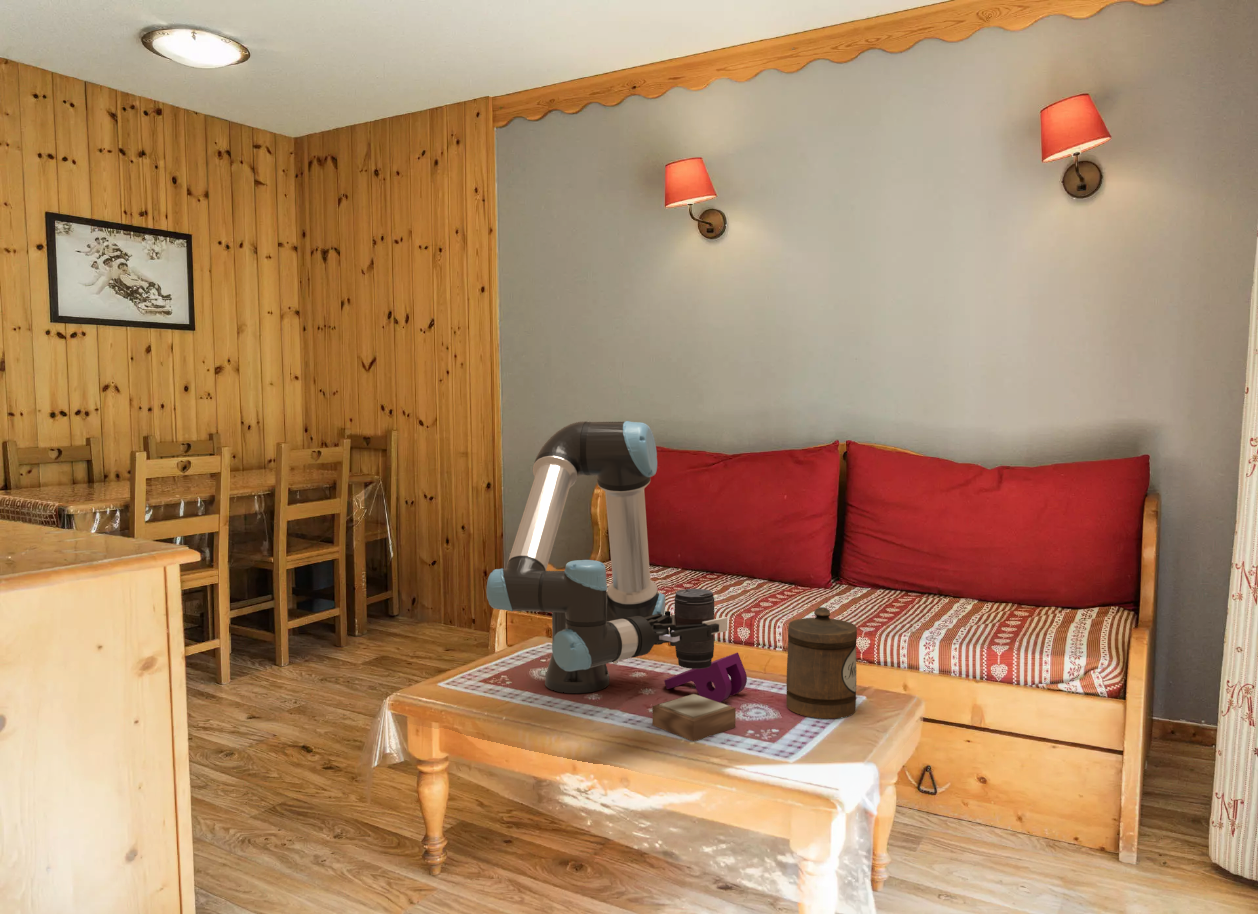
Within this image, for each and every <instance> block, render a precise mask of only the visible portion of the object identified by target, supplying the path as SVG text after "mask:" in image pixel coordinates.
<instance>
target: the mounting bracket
mask: <svg viewBox="0 0 1258 914" xmlns="http://www.w3.org/2000/svg"><path fill="white" fill-rule="evenodd" d="M747 681H748V676H747V671H746V670H745V667H744V665H743V662H742V659H741V656H740V654H739V652H736V653H733V654H732V653H731V654H729V655H727V656H724V657H721V658H718V659H716V660H713V661H711V666H710V667H708V668H703V669H688V670H686V671H683V672H680V673H678V674H675V675H672V676H670V677H668V678H666V679H664V680H663V682H664V685H665V688H666V689H667V690H670V689H672V688H675V687H678V686H682V685H684V684H687V683H689V682H692V683H693V684H694V686H695V689H696V692H697V695H699V696H702V697H705V698H708V699H711V700H714V701H717V702H720V703H723V702H724V701H725V700H727V699H728V698H729V696H730V697H731V696H735V695H737V694H739V693H740V692H742V691H743V690H744V689H745V688H746V686H747V683H748V682H747ZM713 685H714V686H713Z"/></svg>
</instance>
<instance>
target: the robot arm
mask: <svg viewBox="0 0 1258 914" xmlns="http://www.w3.org/2000/svg"><path fill="white" fill-rule="evenodd" d="M657 456H658V452H657V446H656V440H655V436H654V434H653V430H652V429H651V428H650V426H649V425H648V424H646V423H645V422H639V421H638V422H637V421H630V420H625V421H578V422H577V421H576V422H573V423H570V424H568V425H566V426H563V427H562V428H561V429H559V430H558V431H556V432H555V433H554V434H553V435H551V436H550V437H549V438H548V440H546V441H545V443H544V444H543V446H542V447H541V449H539V452H538V453H537V454H536V458H535V460H534V464H533V466H532V474H533V477H534V479H533V482H532V486H531V488H530V492H529V495H528V498H527V501H526V504H525V508H524V509H523V510H524V511H523V514H522V517H521V520H520V522H519V525H518V529H517V532H516V535H515V539H514V542H513V545H512V547H511V548H512V549H511V552H510V553H509V557H508V560H507V563H506V567H505V568H496V569H493V570H492V572H490V573H489V574H488V575H489V576H488V578H487V582H486V591H485V592H486V599H487V601H488V604H489V606H490V607H491V608H493V609H494V610H495V609H496V610H499V611H501V610H502V611H508V612H509V611H510V612H515V611H516V612H541V613H545V612H546V613H551V618H552V619H551V626H552V630H551V632H552V635H551V637H552V640H551V641H552V643H551V651H552V652H551V656H550V660H549V662H548V666H547V671H546V673H545V676H544V677H545V678H544V680H545V681H544V684H545V685H544V686H545V687H546V688H547V689H549V690H551V691H553V690H554V691H555V692H557V693H563V692H564V693H563V694H586V693H593V692H598V691H601V690H604V689H605V688H607V687H608V686H609V685H610V672H609V670H608V666H607V664H611V663H613V664H614V665H616V664H618V662H619V661H623V660H624V661H625V660H628V659H631V658H638V657H640V656H646V655H647V654H649V653H650V652H651V651H652V649H653V647H654V645H655V646H660V645H663V644H669V643H670V644H669V645H670V647H675V646H677V645H679V644H684V643H690V642H697V641H703V640H705V641H707V640H710V639H712V634H714V635H716V634H719V633H724V632H727V631H728V617H726V616H722V617H719V618H714V619H713V620H709V621H704V622H702V624H692V625H679V626H676V619H675V613H673V614H671V611H670V610H666V595H665V593H661V592H658V586H657V583H655V581H653V580H652V579H651V572H650V571H651V570H650V557H649V541H648V540H649V539H648V528H647V527H648V526H647V524H648V523H647V511H646V496H645V488H646V487H647V486H648V485H650V483H651V478H652V477H653V476H655V475H656V473H657V470H658V457H657ZM580 476H594V477H595V476H596V479H597V481H596V482H597V486H598V487H599V488H600V489H601V490H602V491H604V492H605V503H606V505H605V506H606V517H607V527H608V528H607V529H608V539H609V550H610V551H609V554H610V564H611V574H612V575H611V576H612V583H611V584H609V585H608V584H607V569H606V565H605V564H604V563H603V562H601V561H598V560H595V559H594V560H593V559H582V560H580V559H578V560H577V559H576V560H571V561H569V562H567V563H566V564H565V569H564V570H547V568H548V565H549V561H550V558H551V553H552V550H553V547H554V544H555V540H556V538H557V537H556V536H557V533H558V530H559V526H560V523H561V521H562V520H561V519H562V517H563V516H562V515H563V512H564V509H565V505H566V501H567V499H568V495H569V490H570V488H571V487H573V486H574V485H575V483H576V482H577V480H578V477H580Z"/></svg>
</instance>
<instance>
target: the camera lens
mask: <svg viewBox="0 0 1258 914" xmlns="http://www.w3.org/2000/svg"><path fill="white" fill-rule="evenodd" d="M674 614H675V619H676V626H679V625H692V624H702V622H704V621H709V620H713V619H715V596H714V592H713V591H712V590H708V589H703V588H686V589H685V588H684V589H680V590H677V591H676V592H675V596H674ZM674 648H675V657H676V658H677V663H678V666H679V667H681V668H683V669H688V670H690V669H703V668H708V667H710V666H711V662H713V661H712V660H713V658H714V651H715V634H712V639H710V640H707V641H705V640H703V641H697V642H690V643H684V644H679V645H677V646H674Z"/></svg>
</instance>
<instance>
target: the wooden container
mask: <svg viewBox="0 0 1258 914" xmlns="http://www.w3.org/2000/svg"><path fill="white" fill-rule="evenodd" d="M813 613H814V616H815V617H805V618H799V619H798V618H797V619H795V620H794V619H793V620H791V621H790V622H789V623H788V626H787V627H788V628H787V638H788V639H787V659H786V660H787V661H786V695H785V696H786V697H785V698H786V700H785V701H786V707H787V709H788V710H789V709H790V711H791V712H793V713H795V714H797V715H799V714H800V716H803V715H804V716H803V717H807V718H812V717H814V718H813V719H819V718H821V720H831V719H832V720H835V719H834V718H836V719H842V718H841V717H843V718H847V717H849V715H850V716H852V715H853V714H855V712H856V710H857V708H856V707H857V640H858V628H857V626H856V625H855V624H854V623H853V622H849V621H845V620H840V619H837V618H836V619H835V618H830V616H831V611H830V610H829V609H828V608H827V607H824V606H822V607H820V606H819V607H817V608H816V609H815V610H814V611H813ZM851 714H852V715H851ZM846 716H847V717H846Z"/></svg>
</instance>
